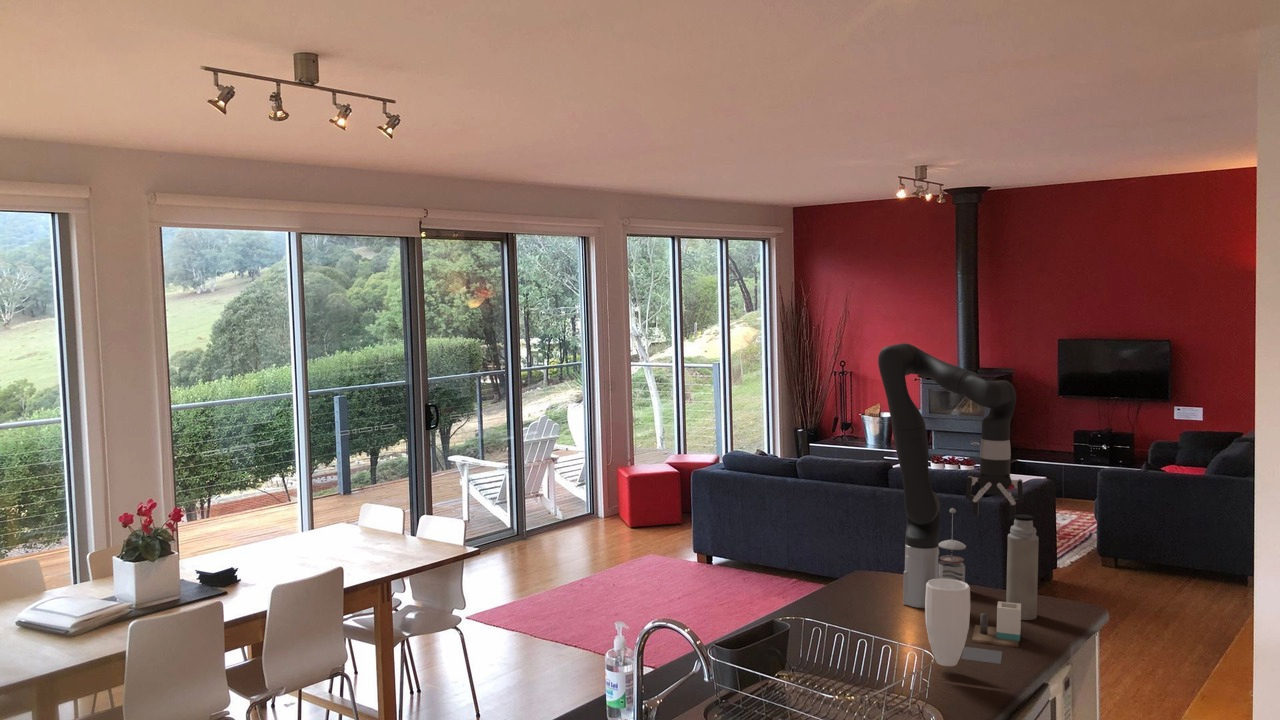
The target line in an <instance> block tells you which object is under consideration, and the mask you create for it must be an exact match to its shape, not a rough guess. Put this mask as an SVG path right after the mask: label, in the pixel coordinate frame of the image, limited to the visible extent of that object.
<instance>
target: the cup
mask: <svg viewBox="0 0 1280 720" xmlns="http://www.w3.org/2000/svg"><path fill="white" fill-rule="evenodd" d="M924 614H925V615H924V616H925V617H924V618H925V627H926V631H927V637H928V642H929V646H930V648H931V651H932V655H933V657H934V659H935V662H936V664H937V665H940V666H943V667H954V666H957V664H958V663H959V660H960V658H961V657H962V654H963V650H964V647H966V646H965V645H966V642H967V638H968V637H967V636H968V633H969V628H970V617H971V616H970V615H971V587H970V585H969V584H968V583H967V582H966V581H965V582H962V581H958V580H953V579H933V580H929V581H928V582H927V583H926V595H925V608H924Z"/></svg>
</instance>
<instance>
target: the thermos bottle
mask: <svg viewBox="0 0 1280 720" xmlns="http://www.w3.org/2000/svg"><path fill="white" fill-rule="evenodd" d="M1013 519H1014V520H1013V525H1011V526H1010V530H1009V532H1010V533H1008V534H1007V557H1006V559H1007V560H1006V591H1005V592H1006V593H1005V594H1006V596H1005V600H1006V601H1005V602H1010V603H1019V604H1021V621H1023V620H1025V621H1029V620H1030V621H1031V620H1035V619H1037V617H1038V585H1039V584H1038V580H1039V579H1038V577H1039V543H1040V542H1039V540H1040V539H1039V535H1037V533H1038V532H1037V528H1036V527H1035V526H1034V522H1033V520H1034V516H1033V515H1029V514H1015V517H1013Z"/></svg>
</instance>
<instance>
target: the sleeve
mask: <svg viewBox="0 0 1280 720" xmlns="http://www.w3.org/2000/svg"><path fill="white" fill-rule="evenodd" d="M1021 623H1022V620H1021V604H1019V603H1010V602H1006V601H1000V600H999V601H997V605H996V627H997V635H996V638H998V639H1007V640H1015V641H1019V642H1020V641H1021V632H1022V631H1021V628H1022V626H1021V625H1022V624H1021Z"/></svg>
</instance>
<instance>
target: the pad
mask: <svg viewBox="0 0 1280 720" xmlns="http://www.w3.org/2000/svg"><path fill="white" fill-rule="evenodd" d="M1002 657H1003V650H1002V651H1000V650H995V649H993V650H992V649H986V648H978V647H970V646H964V648H963V651H962V654H961V657H960V658H961V660H967V661H968V660H969V661H974V662H980V663H981V662H983V663H990V664H995V665H1002Z"/></svg>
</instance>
